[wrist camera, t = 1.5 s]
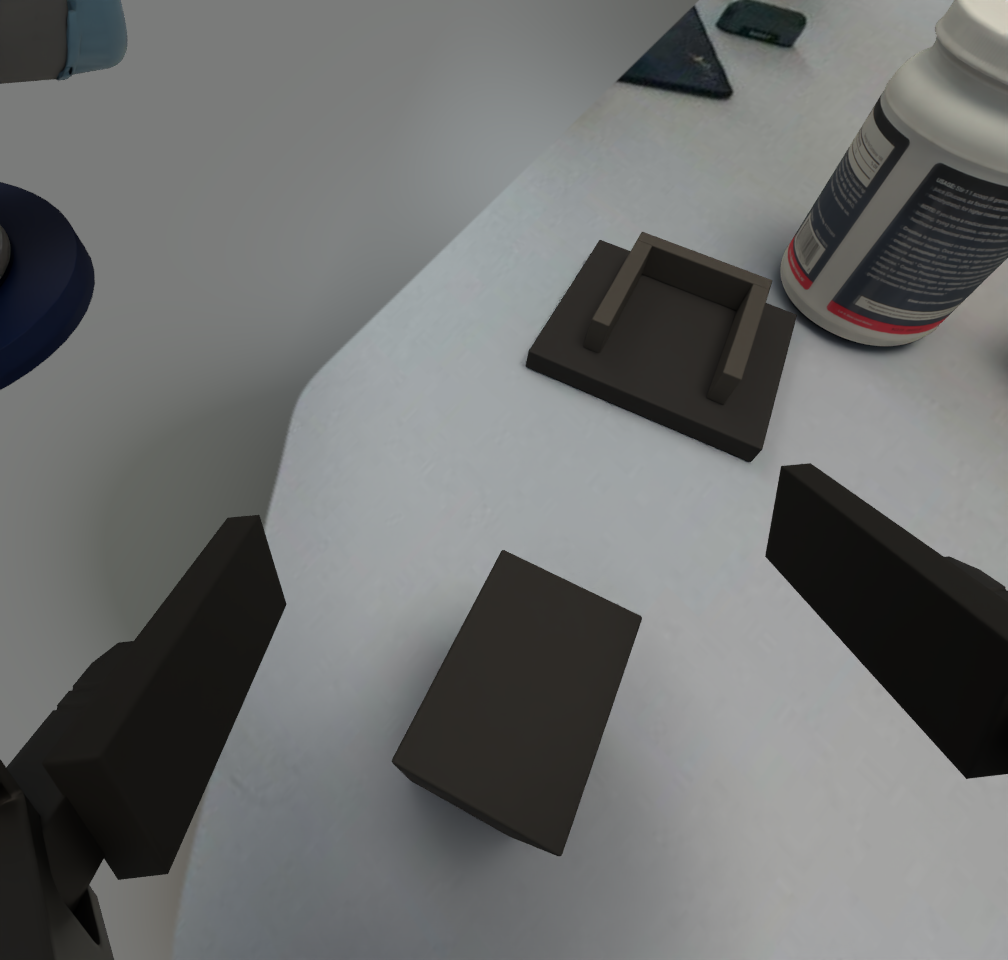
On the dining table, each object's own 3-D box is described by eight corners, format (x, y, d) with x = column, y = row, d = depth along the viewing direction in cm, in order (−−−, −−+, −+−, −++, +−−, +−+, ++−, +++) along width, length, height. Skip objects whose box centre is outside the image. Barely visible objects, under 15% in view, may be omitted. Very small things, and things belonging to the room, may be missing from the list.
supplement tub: (955, 317, 45) (1231, 54, 29) (872, 380, 40) (1152, 105, 24) (828, 231, 50) (1007, -35, 34) (739, 279, 45) (902, -7, 29)
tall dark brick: (409, 779, 24) (390, 762, 15) (480, 637, 27) (502, 548, 18) (511, 837, 23) (561, 857, 14) (571, 683, 27) (643, 616, 17)
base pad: (525, 366, 37) (533, 322, 34) (595, 255, 44) (608, 209, 41) (750, 463, 35) (784, 425, 32) (786, 329, 42) (817, 287, 39)
